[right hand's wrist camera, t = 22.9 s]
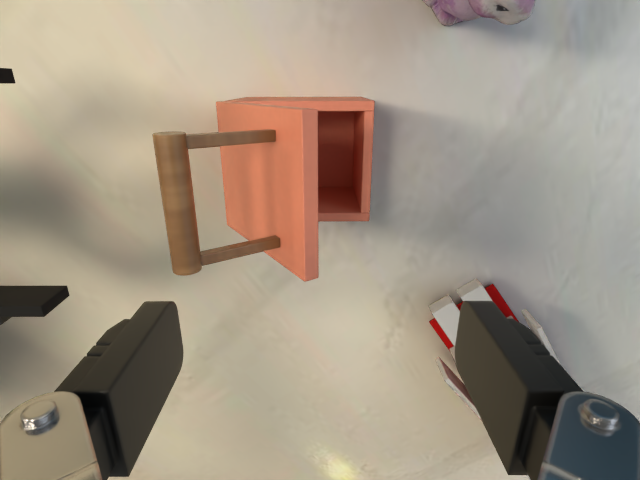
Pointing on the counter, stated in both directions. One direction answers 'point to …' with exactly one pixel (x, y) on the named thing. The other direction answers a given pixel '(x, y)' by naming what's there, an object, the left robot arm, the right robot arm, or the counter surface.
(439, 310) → the toy
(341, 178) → the chest
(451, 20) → the figurine
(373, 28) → the counter surface
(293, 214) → the lid
